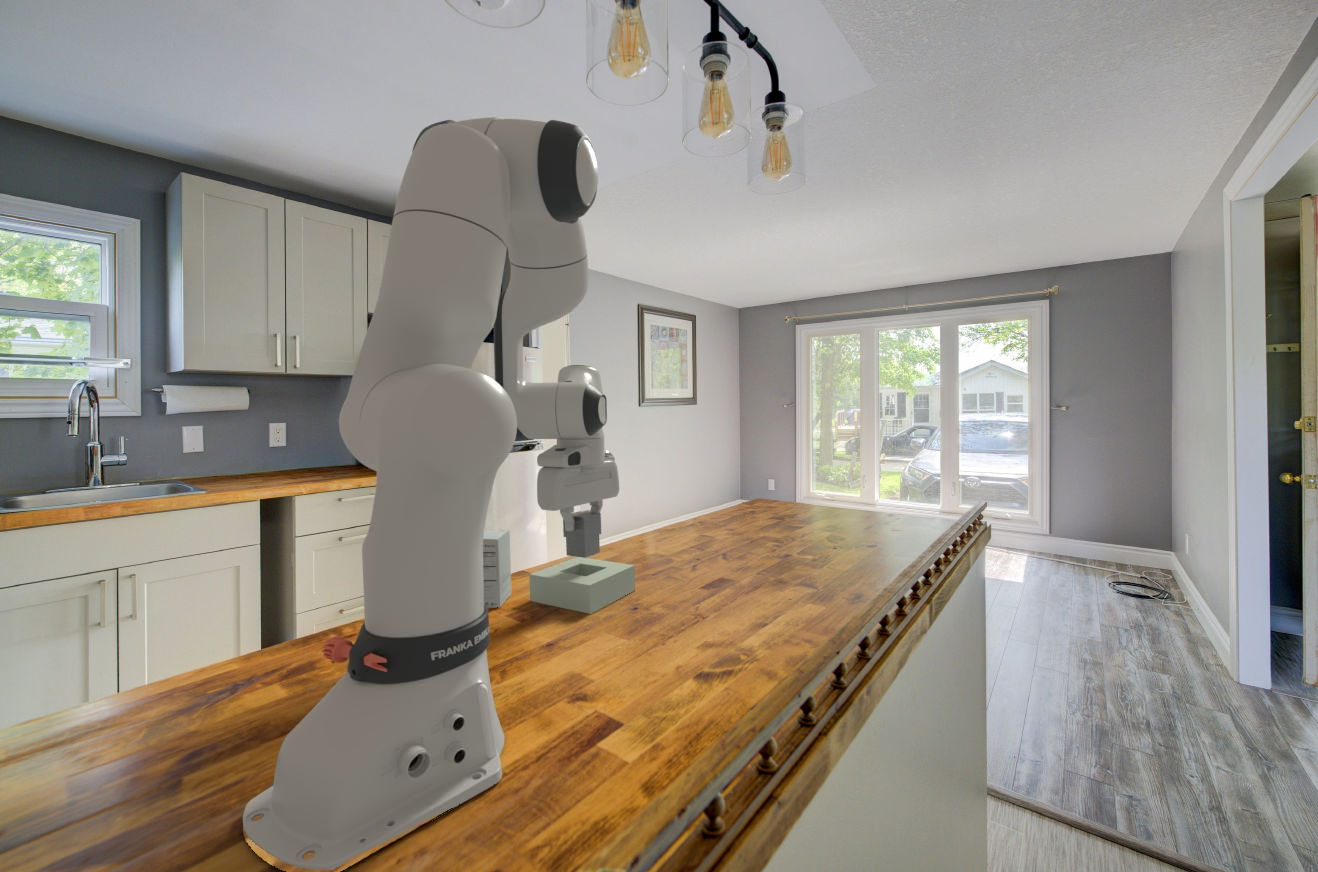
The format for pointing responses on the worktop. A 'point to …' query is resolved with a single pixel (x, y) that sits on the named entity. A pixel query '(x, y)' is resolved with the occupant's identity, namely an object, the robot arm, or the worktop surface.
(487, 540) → the supplement box
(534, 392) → the robot arm
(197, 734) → the worktop surface
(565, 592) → the block
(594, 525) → the knob
